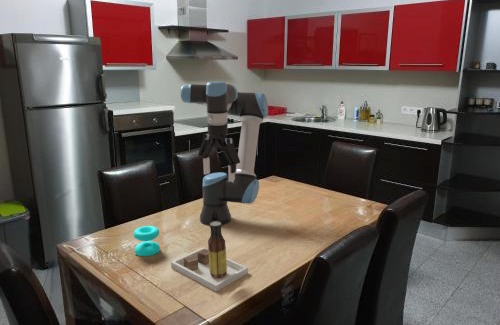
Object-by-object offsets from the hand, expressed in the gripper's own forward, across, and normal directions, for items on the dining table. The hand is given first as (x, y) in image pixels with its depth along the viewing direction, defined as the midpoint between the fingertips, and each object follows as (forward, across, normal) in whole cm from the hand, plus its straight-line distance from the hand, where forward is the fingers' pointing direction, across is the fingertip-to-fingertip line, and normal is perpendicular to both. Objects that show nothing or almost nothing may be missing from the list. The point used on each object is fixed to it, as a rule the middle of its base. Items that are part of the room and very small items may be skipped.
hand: (218, 177), depth 153 cm
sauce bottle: (+30, +14, -16) cm, 37 cm away
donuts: (+31, -21, -22) cm, 43 cm away
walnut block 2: (+30, +4, -12) cm, 33 cm away
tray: (+31, +10, -16) cm, 36 cm away
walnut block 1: (+30, +4, -19) cm, 36 cm away
